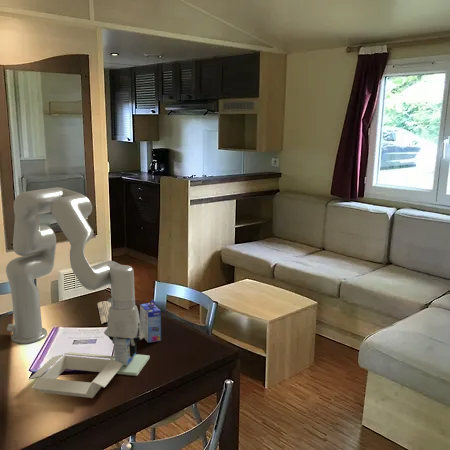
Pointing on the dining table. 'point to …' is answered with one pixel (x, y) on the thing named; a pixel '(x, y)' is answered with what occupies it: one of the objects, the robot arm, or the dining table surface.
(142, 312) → the ink cartridge box
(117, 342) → the medicine box
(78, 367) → the carton
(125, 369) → the plate
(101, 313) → the newspaper
